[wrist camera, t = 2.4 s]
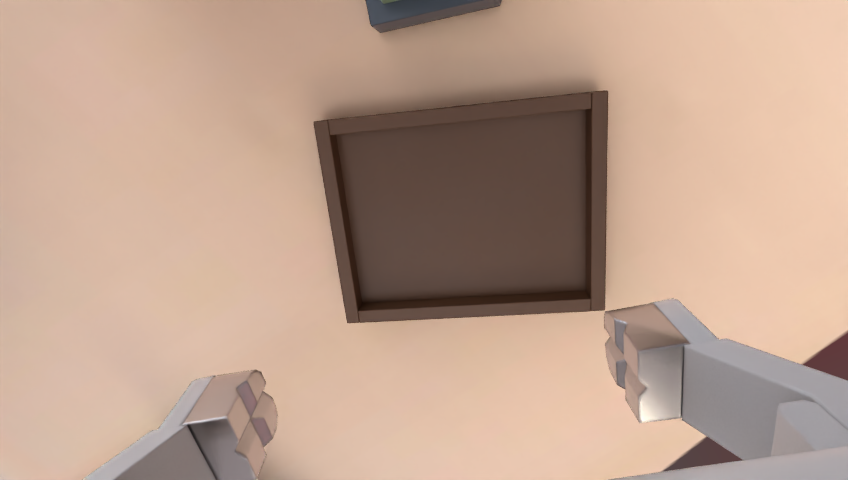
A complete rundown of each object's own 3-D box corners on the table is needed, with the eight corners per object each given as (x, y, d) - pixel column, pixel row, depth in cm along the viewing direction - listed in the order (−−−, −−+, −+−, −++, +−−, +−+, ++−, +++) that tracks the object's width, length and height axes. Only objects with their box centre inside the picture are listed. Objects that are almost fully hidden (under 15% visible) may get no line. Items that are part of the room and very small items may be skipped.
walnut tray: (353, 311, 36) (347, 323, 34) (322, 120, 32) (312, 121, 30) (597, 298, 34) (605, 310, 32) (599, 91, 30) (608, 90, 28)
